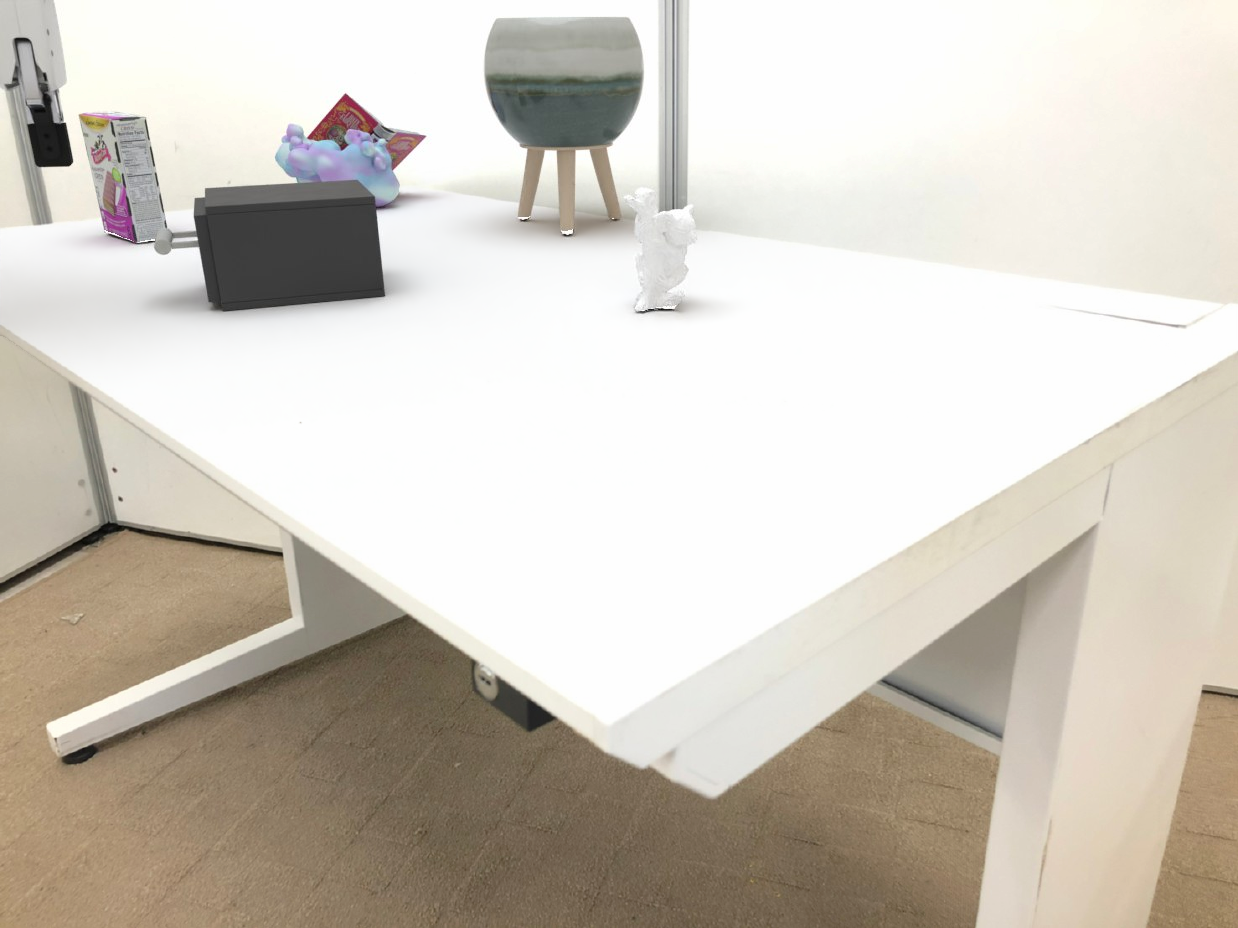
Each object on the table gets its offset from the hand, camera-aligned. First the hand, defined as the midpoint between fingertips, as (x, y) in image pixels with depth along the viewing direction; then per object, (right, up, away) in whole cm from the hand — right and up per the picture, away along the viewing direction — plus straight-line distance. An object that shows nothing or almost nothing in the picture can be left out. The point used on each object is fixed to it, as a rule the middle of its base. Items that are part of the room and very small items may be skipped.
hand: (55, 165), depth 99 cm
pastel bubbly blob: (+11, +14, +67) cm, 70 cm away
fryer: (+20, -10, +13) cm, 26 cm away
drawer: (+17, -10, +11) cm, 22 cm away
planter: (+48, +5, +48) cm, 68 cm away
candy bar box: (-12, +2, +42) cm, 43 cm away
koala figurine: (+60, -13, +5) cm, 62 cm away
